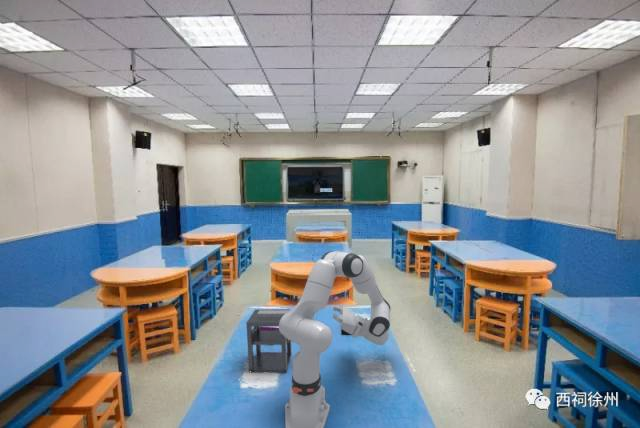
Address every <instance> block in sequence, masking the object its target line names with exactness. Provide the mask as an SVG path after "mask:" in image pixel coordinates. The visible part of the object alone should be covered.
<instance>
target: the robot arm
mask: <svg viewBox="0 0 640 428" xmlns="http://www.w3.org/2000/svg"><path fill="white" fill-rule="evenodd" d="M337 277H341V278H349V279H350V282H351V284H352V287H353V288H354V289H355V291H356V292H357V293H358V294H362V295H366V294H367V297H368V298H369V300H370V302H371V304H370V318H369V320H368V318H367V319H365V318H366V317H365V318H364V317H363V316H361V315H359V314H357V315H356V313H355V312H354V310H352V309H350V308H348V307H347V306H344V305H343V306H342V307H337V306H333V309H332V310H333V311H334V312H338V313H339V316H338V315H337V314H336V313H333V314H332V319H334V320H335V321H336V322H338V323H339V328H340V329H343V330H344V331H346V332H347V333H349V334H352V335H351V336H352V337H354V339H355V338H357V337H358V336H359V337H362V338H364V339H365V340H366V341H368V342H370V343H372V344H374V345H378V346H383V345H384V344H386V343H387V341H388V339H389V336H390V334H389V330H390V327H391V309H392V308H391V305H390V303H389V302H388V301H387V300H386V299H385V298H384V297H383V296H382V293H381V291H380V289H379V287H378V284H377V280H376V278H375V275H374V273H373V269H372V268H371V266H370V263H369V262H368V261H367V259H366V258H365V256H363V255H361V254H356V253H353V252H345V251H340V250H339V251H334V250H330V251H327V252H325V253H324V254H323V255H322V256H321V258H320V259H317V261H316V262H315V263H314V264H313V267H312V268H311V271H310V273H309V275H308V277H307V280H306V283H305V286H304V289H303V292H302V294H301V297H300V299H299V301H298V302H297V304H295V306H294V307H293V308H292V309H290V310H291V311H290V312H288V313H286V314H285V315H283V317H282V318H281V320H280V322H279V327H278V328H279V331H280V333H281V334H282V335H283V336H284V337H286V338H287V339H288V340H291V342H292V343H295V344H298V345H299V349H300V351H298V352H296V353H295V354H294V356H293V358H292V376H291V385H290V387H289V400H288V402H287V403H285V405H284V418H285V419H284V420H285V421H284V422H285V426H284V427H285V428H325V426H326V422H327V419H328V416H329V413H330V409H331V406H330V404H329V403H327V402H326V391H325V390H326V389H325V387H324V386H323V385H322V376H321V373H320V360H321V359H320V358H321V355H322V354H323V353H324V352H325V351H327V350H328V349H329V347H330V346H331V345H332V343H333V332H332V329H331V328H330V327H329V326H327V325H326V324H325V323H323V322H321V321H318V319H317V320H316V319H314V316H315V315H316V313H318V312H319V311H322V310H324V309H326V307H327V306H328V303H329V300H330V296H331V292H332V289H333V286H334V282H335V279H336V278H337Z"/></svg>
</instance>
